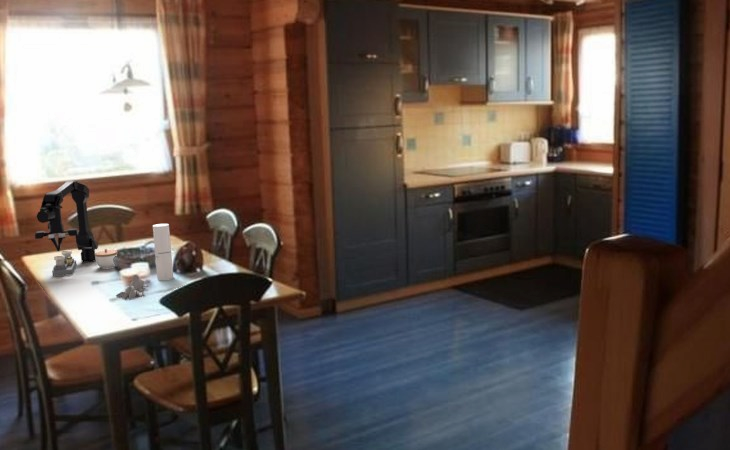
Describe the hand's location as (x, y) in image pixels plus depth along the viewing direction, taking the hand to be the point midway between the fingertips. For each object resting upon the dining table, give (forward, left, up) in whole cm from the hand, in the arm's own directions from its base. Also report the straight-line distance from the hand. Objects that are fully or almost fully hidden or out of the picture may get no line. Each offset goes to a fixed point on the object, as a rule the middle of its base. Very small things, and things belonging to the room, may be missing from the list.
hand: (58, 251), depth 340 cm
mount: (-1, -6, -11) cm, 13 cm away
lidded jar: (-21, -4, -11) cm, 24 cm away
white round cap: (-2, -12, -8) cm, 15 cm away
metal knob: (-3, -6, -9) cm, 11 cm away
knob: (0, 0, -8) cm, 8 cm away
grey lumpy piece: (-34, +54, -12) cm, 64 cm away
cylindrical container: (-48, +32, -11) cm, 59 cm away
